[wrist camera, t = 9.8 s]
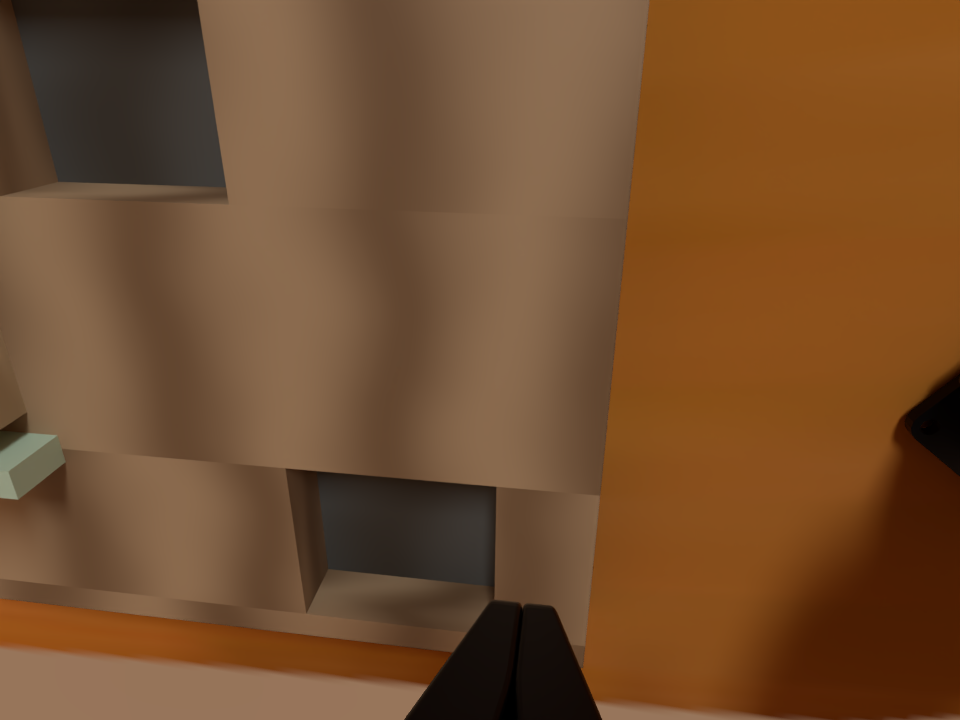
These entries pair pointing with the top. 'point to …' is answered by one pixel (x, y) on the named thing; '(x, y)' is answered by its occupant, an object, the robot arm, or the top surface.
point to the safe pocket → (26, 461)
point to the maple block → (9, 390)
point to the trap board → (314, 305)
